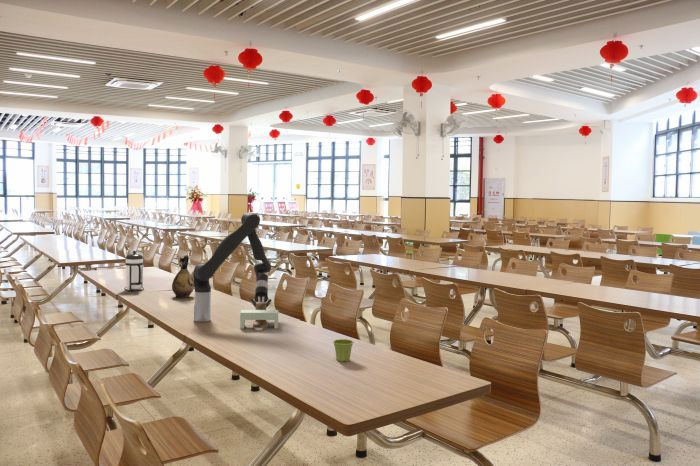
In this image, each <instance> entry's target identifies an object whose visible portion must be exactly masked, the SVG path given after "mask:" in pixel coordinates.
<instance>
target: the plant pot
mask: <svg viewBox="0 0 700 466" xmlns="http://www.w3.org/2000/svg"><path fill="white" fill-rule="evenodd" d="M332 342H333V345H334V351H335V359H336V361H337V362H339V363H344V362H349V361H350V360H351V354H352V347H353V344H355V342H354V341H353V340H351V339H345V338H341V339H340V338H339V339H335V340H333V341H332Z"/></svg>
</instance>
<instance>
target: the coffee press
mask: <svg viewBox="0 0 700 466" xmlns="http://www.w3.org/2000/svg"><path fill="white" fill-rule="evenodd" d="M124 258H125V287H124V290H125V291H126V290H128V292H132V291H133V290H141V291H144V290H145V288H144V287H143V285H144V284H143V282H144V281H143V280H144V279H143V277H144V275H143V274H144V273H143V271H144V270H143V268H144V261H143V260H144V257H143V255H141V254H140V253H137V251H136V250H133V251H132V253H129V254H127V255H125V257H124Z"/></svg>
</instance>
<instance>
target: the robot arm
mask: <svg viewBox="0 0 700 466" xmlns="http://www.w3.org/2000/svg"><path fill="white" fill-rule="evenodd" d="M240 222H241V225H240V226H239V227H238V228H237V229H236V230H234V231H233V232H231V233H230V234H228V235H227V236H225V237H224V238H223V239H222V241H220V242H219V243H218V245H217V247H216V248H215V250H214V252H213V254H212V256H211V257H210V258H209V259H208V260H207V261H206V262H205V263H199V264H197V265H195V266H194V269H193V280H194V304H193V322H198V323H199V322H200V323H201V322H205V323H206V322H210V321H211V320H212V319H211V316H212V315H211V313H212V312H211V311H212V310H211V309H212V307H211V306H212V305H211V304H212V300H211V299H212V287H211V285H210V279H211V278H212V277H213V275H215V273H216V272H217V270H218V269H219V268H220V267H221V265H222V264H223V263H224V262H225V261H226V260H227V259H228V258H229V257H230V255H232V254H233V253H234V251H235V250H237V248H238V246H239V245H241V243H242V242H244V240H245V239H246V238H248V242H249V244H250V248H251V252H252V256H253V259H254V260H255V261H261V262H257V263H255V264H254V266H253V271H254V273H255V279H256V281H255V290H254V292H255V293H254V297H253V298H250V303H251V305H253V307H254V308H255V309H256V302H266V309H267V308H268V306H270V305H271V304H272V299H271V298H269V296H268V295H269V283H268V281H269V278H268V275H267V274H268V273H270V272H271V270H272V265H271V263H270V262H269V260H268V258H267V256H266V254H265V250H264V247H263V244H262V243H263V242H261V240H260V237H259V235H258V233H257V230H256V229H257V228H258V226H259V225H260V223H261V219H260V216H259V215H258V214H255V213H251V212H245V213H243V214H242V216H241V218H240Z"/></svg>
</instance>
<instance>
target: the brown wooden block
mask: <svg viewBox="0 0 700 466" xmlns="http://www.w3.org/2000/svg"><path fill="white" fill-rule="evenodd" d="M255 303H256V308H255V310H267V308H266V303H267V302H256V301H255ZM268 321H269V320H253V322H252V323H253V324H252V329H254V328H255V327H263V329H268V324H269V323H268Z"/></svg>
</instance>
